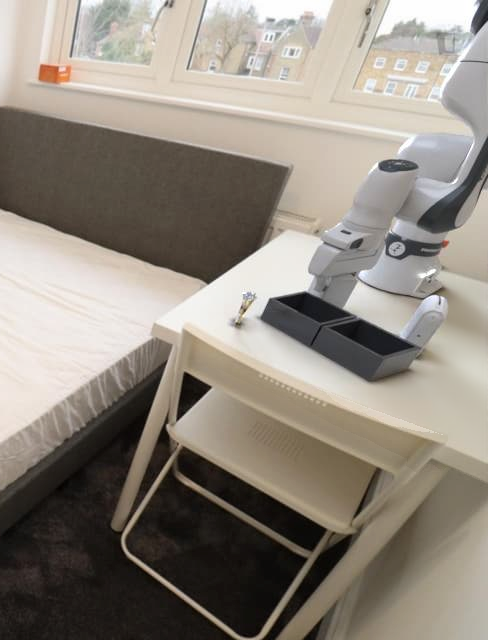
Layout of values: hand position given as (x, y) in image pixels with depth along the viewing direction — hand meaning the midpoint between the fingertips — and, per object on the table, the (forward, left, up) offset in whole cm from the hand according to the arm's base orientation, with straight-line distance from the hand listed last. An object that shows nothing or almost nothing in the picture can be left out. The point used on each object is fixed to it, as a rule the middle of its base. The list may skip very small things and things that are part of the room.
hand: (330, 288), depth 124 cm
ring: (+26, -2, -7) cm, 27 cm away
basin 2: (+12, +18, -6) cm, 23 cm away
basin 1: (+12, +5, -6) cm, 15 cm away
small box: (0, 0, -7) cm, 7 cm away
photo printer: (-4, +19, -7) cm, 20 cm away
